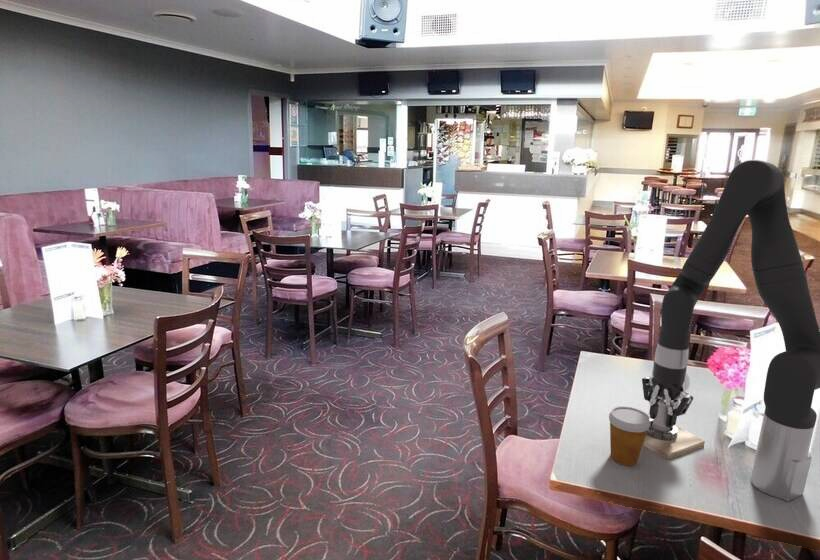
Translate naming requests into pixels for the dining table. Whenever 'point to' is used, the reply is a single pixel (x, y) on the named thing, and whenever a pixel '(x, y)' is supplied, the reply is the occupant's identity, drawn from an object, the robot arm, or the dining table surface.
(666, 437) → the steel socket collar
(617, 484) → the dining table surface
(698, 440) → the birch base plate
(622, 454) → the disposable coffee cup
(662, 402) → the rook chess piece
